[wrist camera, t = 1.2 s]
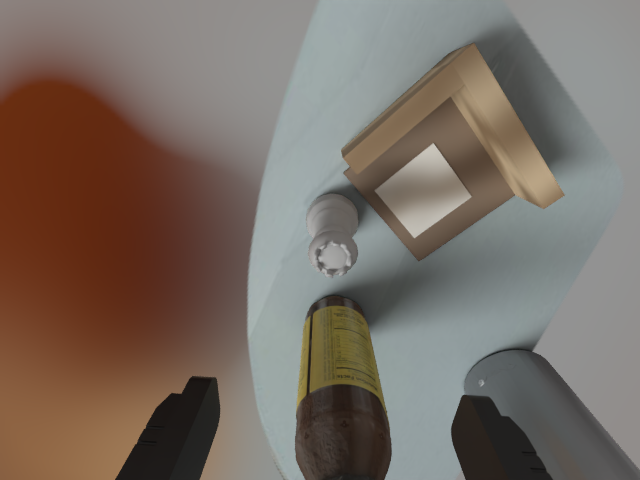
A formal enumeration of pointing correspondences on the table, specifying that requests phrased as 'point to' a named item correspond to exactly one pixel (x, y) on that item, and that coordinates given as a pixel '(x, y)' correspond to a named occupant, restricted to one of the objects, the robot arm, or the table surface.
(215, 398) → the robot arm
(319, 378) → the sauce bottle
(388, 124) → the wooden tray
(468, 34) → the table surface
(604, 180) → the table surface
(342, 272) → the rook chess piece
